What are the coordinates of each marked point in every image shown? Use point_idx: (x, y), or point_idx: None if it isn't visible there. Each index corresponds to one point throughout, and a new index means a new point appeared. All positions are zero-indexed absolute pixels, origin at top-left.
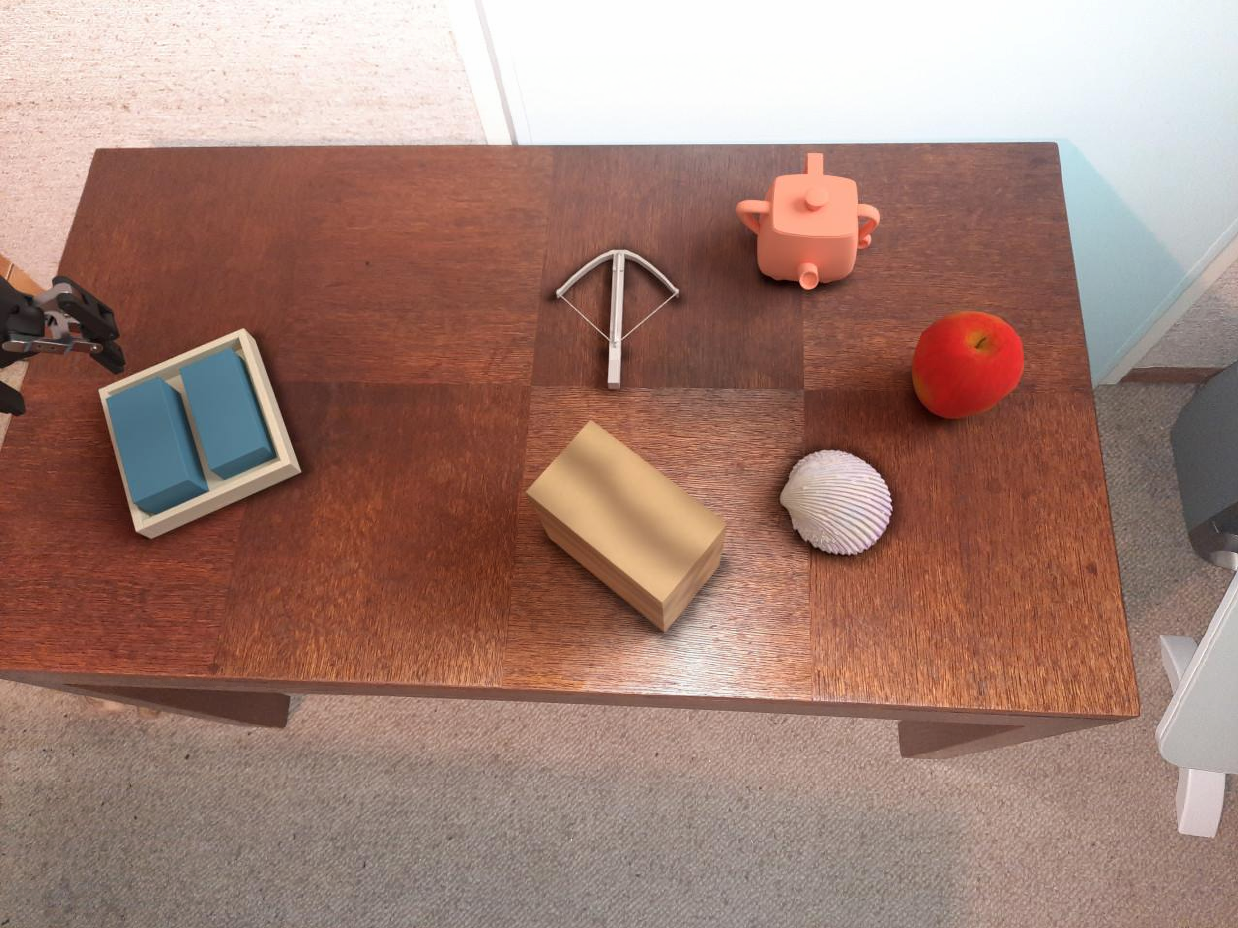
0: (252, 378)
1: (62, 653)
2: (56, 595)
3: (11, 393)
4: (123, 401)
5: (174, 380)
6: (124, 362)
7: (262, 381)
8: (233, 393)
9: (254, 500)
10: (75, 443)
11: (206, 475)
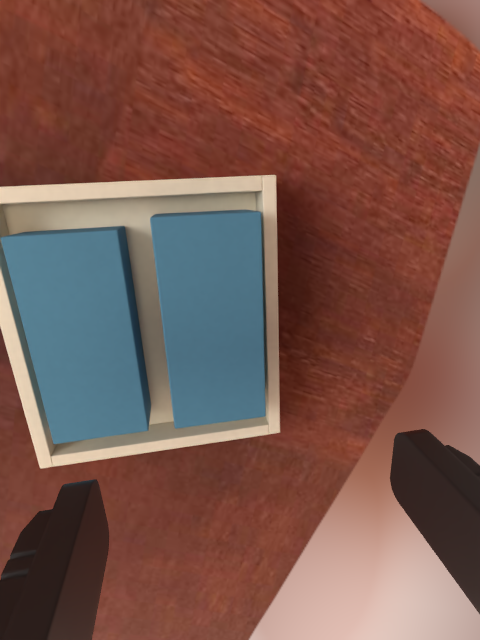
0: None
1: (436, 38)
2: (416, 147)
3: (423, 509)
4: (239, 403)
5: None
6: (30, 523)
7: (13, 371)
8: (54, 362)
9: (84, 172)
10: (332, 368)
11: None
